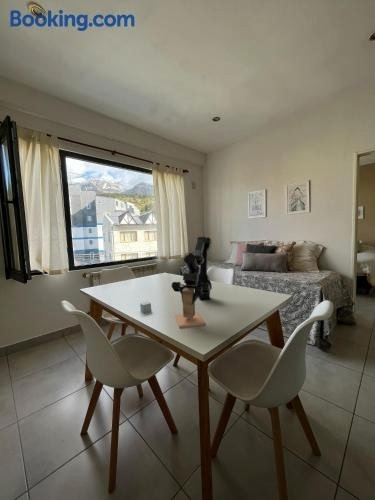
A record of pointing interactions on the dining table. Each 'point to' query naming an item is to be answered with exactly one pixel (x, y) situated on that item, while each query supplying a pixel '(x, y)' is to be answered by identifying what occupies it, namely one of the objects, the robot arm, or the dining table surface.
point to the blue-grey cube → (145, 306)
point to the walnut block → (188, 302)
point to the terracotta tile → (189, 320)
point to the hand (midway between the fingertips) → (187, 303)
